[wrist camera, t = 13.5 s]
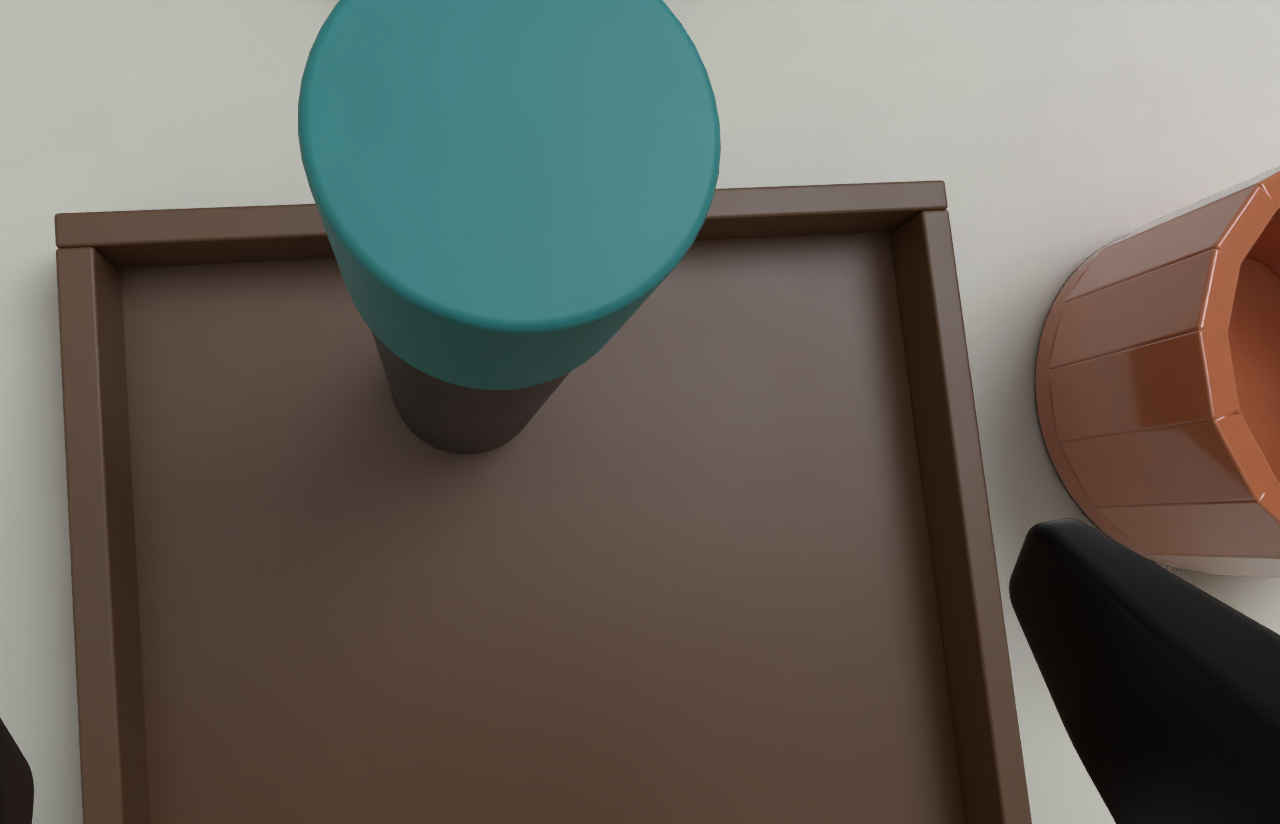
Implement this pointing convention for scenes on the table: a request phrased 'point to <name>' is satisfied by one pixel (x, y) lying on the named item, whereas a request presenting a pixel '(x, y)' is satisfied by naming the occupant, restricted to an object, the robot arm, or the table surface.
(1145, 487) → the pen pot
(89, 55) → the table surface
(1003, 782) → the tray
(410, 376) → the disc
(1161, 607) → the robot arm
